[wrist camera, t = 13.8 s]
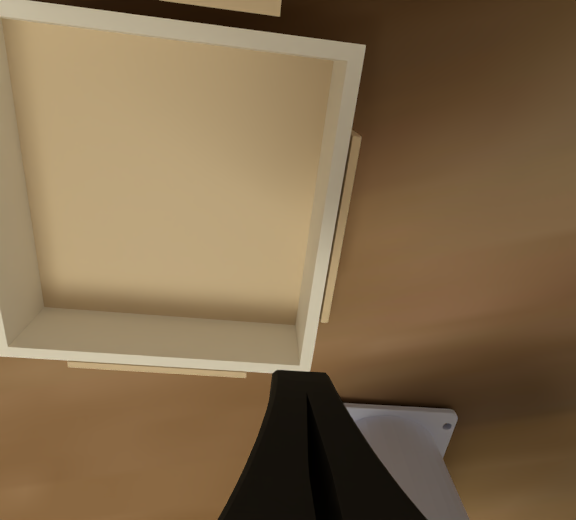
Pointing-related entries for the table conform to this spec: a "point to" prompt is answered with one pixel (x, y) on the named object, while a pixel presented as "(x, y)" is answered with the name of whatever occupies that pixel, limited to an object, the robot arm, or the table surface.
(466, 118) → the table surface
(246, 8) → the flap
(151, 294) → the carton
